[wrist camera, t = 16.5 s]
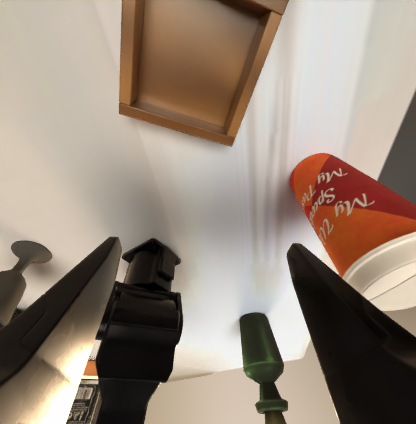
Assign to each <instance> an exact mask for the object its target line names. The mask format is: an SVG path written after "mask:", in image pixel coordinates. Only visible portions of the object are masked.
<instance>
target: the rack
mask: <svg viewBox="0 0 416 424" xmlns="http://www.w3.org/2000/svg"><path fill="white" fill-rule="evenodd" d="M288 1H289V0H122V17H121V54H120V91H119V102H120V103H119V114H122V115H125V116H129V117H132V118H135V119H139V120H142V121H146V122H149V123H153V124H156V125H159V126H163V127H166V128H170V129H173V130H176V131H180V132H183V133H187V134H190V135H194V136H197V137H200V138H204V139H207V140H211V141H214V142H217V143H221V144H224V145H228V146H232V145H233V142H234V140H235V137H236V135H237V132H238V129H239V127H240V124H241V122H242V119H243V117H244V114H245V111H246V109H247V106H248V104H249V101H250V98H251V96H252V93H253V91H254V88H255V86H256V83H257V80H258V78H259V75H260V73H261V70H262V68H263V65H264V62H265V60H266V57H267V55H268V52H269V49H270V47H271V44H272V42H273V39H274V37H275V34H276V31H277V29H278V26H279V24H280V21H281V18H282V15H283V14H284V11H285V9H286V6H287V3H288Z"/></svg>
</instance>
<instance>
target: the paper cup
mask: <svg viewBox="0 0 416 424" xmlns="http://www.w3.org/2000/svg"><path fill="white" fill-rule="evenodd" d="M290 185H291V188H292V190H293V192H294V194H295V196H296V198H297V200H298V202H299V204H300V205H301V207H302V209H303V211H304V212H305V214H306V216H307V218H308V220H309V221H310V223H311V225H312V227H313V228H314V230H315V232H316V234H317V236H318V237H319V239H320V241H321V243H322V244H323V246H324V248H325V250H326V251H327V253H328V255H329V257H330V258H331V260H332V262H333V264H334V265H335V267H336V269H337V271H338V272H339V274H340V276H341V278H342V279H344V280H345V281H346V282H347V283H348V284H349V285H351V286H352V287H353V288H354V289H355V290H357V291H358V292H359V293H360V294H361V295H362V296H364V297H365V298H366V299H367V300H369V301H370V302H371V303H372V304H373V305H375V306H376V307H377V308H378V309H380V310H381V311H388V310H399V309H405V308H410V307H414V306H416V206H415V205H414V204H412V203H411V202H409V201H408V200H406V199H404V198H403V197H401V196H400V195H398V194H397V193H395V192H393V191H392V190H390V189H389V188H387V187H386V186H384V185H382V184H381V183H380V182H378V181H376V180H374V179H373V178H371V177H369V176H367V175H366V174H364V173H362V172H360V171H359V170H357V169H355V168H354V167H352V166H350V165H349V164H347V163H346V162H344V161H342V160H340V159H339V158H337V157H335V156H333V155H330V154H327V153H319V154H315V155H312V156H310V157H308V158H306V159H304V160H303V161H302V162H300V163H299V164H298V165H297V166H296V168H295V169H294V171H293V173H292V175H291V178H290Z"/></svg>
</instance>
